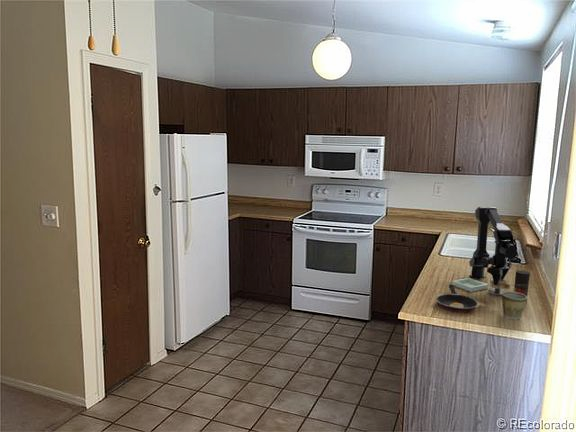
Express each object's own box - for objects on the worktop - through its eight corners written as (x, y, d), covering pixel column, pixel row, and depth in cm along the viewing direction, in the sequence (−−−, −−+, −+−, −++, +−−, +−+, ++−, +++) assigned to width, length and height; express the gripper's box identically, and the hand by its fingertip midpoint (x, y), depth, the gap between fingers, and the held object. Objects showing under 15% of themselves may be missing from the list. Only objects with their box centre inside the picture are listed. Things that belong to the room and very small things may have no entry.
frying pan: (436, 312, 212) (437, 304, 212) (431, 289, 243) (431, 282, 242) (481, 316, 208) (482, 308, 208) (469, 292, 239) (470, 285, 239)
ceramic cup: (517, 323, 201) (519, 300, 199) (495, 315, 209) (497, 294, 207) (532, 316, 209) (535, 294, 207) (510, 309, 217) (513, 288, 215)
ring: (493, 283, 243) (493, 277, 243) (511, 287, 238) (511, 281, 237) (488, 286, 238) (488, 280, 238) (506, 290, 233) (507, 284, 232)
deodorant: (509, 300, 228) (513, 270, 225) (519, 299, 230) (522, 269, 227) (519, 305, 222) (523, 274, 220) (529, 303, 224) (532, 273, 222)
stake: (495, 288, 245) (496, 277, 244) (509, 293, 238) (511, 282, 236) (484, 291, 241) (485, 280, 240) (498, 296, 234) (500, 284, 232)
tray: (468, 282, 255) (468, 277, 254) (487, 289, 244) (488, 284, 244) (451, 285, 249) (452, 280, 249) (471, 292, 238) (471, 287, 238)
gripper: (491, 247, 248) (488, 276, 250) (477, 254, 234) (474, 284, 237) (513, 251, 240) (510, 280, 243) (501, 258, 227) (498, 289, 229)
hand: (498, 283), depth 238 cm, fingers closed on ring, 7 cm apart
